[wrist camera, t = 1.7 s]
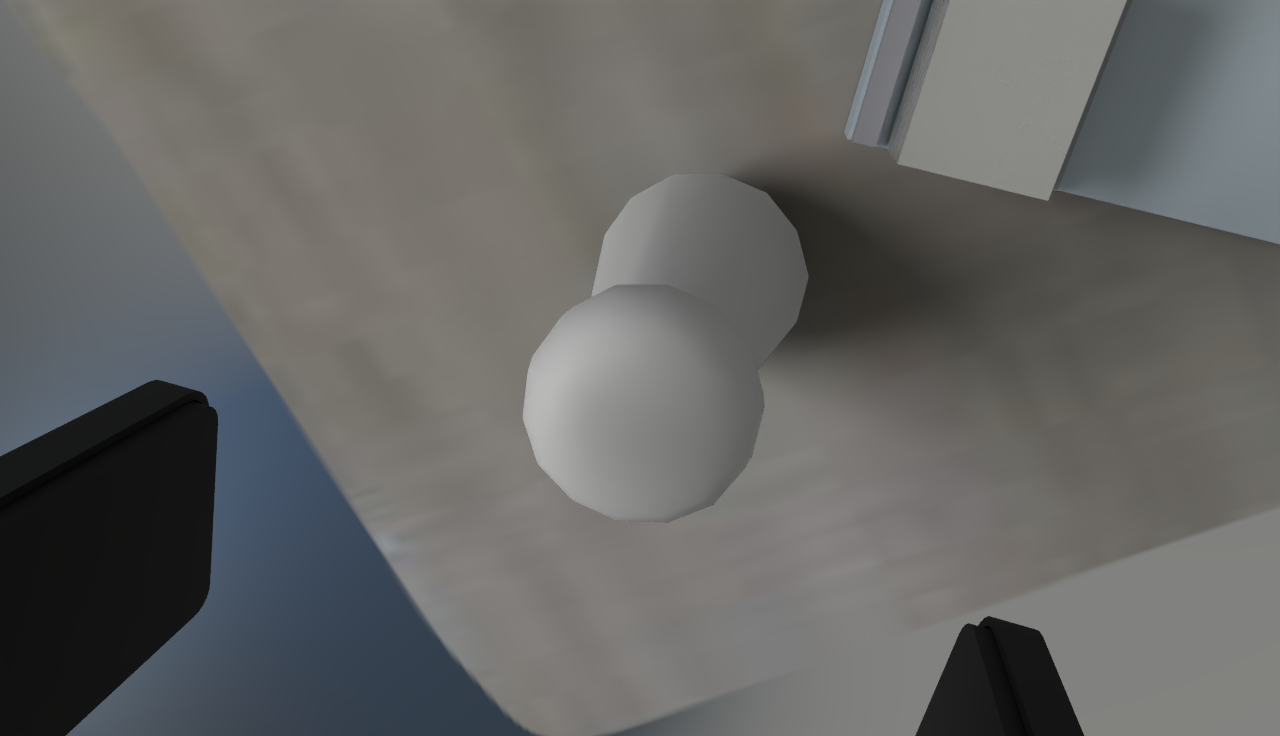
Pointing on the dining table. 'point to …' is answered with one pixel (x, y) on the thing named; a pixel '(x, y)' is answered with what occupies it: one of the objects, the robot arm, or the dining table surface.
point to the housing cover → (1001, 89)
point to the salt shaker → (667, 351)
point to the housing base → (1144, 110)
